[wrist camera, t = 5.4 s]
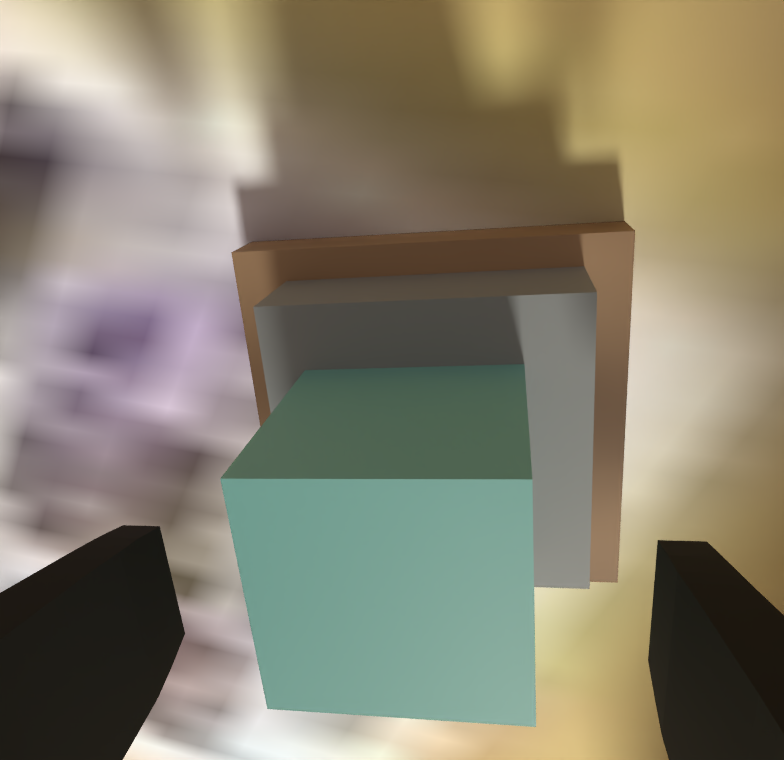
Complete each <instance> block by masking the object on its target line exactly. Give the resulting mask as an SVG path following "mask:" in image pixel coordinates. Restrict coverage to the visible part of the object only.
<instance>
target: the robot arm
mask: <svg viewBox="0 0 784 760" xmlns="http://www.w3.org/2000/svg"><path fill="white" fill-rule="evenodd" d="M184 635H185V632H184V627H183V623H182V619H181V615H180V610H179V606H178V602H177V598H176V594H175V589H174V585H173V581H172V577H171V572H170V568H169V564H168V560H167V556H166V551H165V547H164V543H163V539H162V534H161V530H160V526H126V525H123V526H121V527H119V528H117V529H114V530H112V531H110V532H108V533H106V534H104V535H102V536H100V537H98V538H96V539H94V540H93V541H91V542H89V543H87V544H85V545H83V546H82V547H80V548H78V549H76V550H74V551H73V552H71V553H69V554H67V555H66V556H64V557H62V558H60V559H58V560H57V561H55V562H53V563H52V564H50V565H48V566H46V567H45V568H43V569H41V570H39V571H38V572H36V573H34V574H32V575H31V576H29V577H27V578H25V579H24V580H22V581H20V582H18V583H17V584H15V585H13V586H11V587H10V588H8V589H6V590H5V591H3V592H1V593H0V760H123V758H124V756H125V755H126V753H127V751H128V749H129V748H130V746H131V744H132V743H133V741H134V739H135V737H136V736H137V734H138V732H139V730H140V729H141V727H142V725H143V723H144V722H145V720H146V718H147V716H148V715H149V713H150V711H151V709H152V707H153V706H154V704H155V702H156V700H157V698H158V697H159V694H160V692H161V690H162V688H163V685H164V683H165V681H166V678H167V676H168V674H169V672H170V669H171V667H172V665H173V662H174V660H175V657H176V655H177V652H178V650H179V647H180V645H181V642H182V640H183V637H184ZM648 662H649V667H650V673H651V679H652V685H653V690H654V696H655V702H656V707H657V712H658V717H659V723H660V728H661V733H662V737H663V741H664V744H665V748H666V751H667V754H668V758H669V760H784V615H783V614H782V613H781V612H780V611H778V610H777V609H776V608H775V607H774V606H773V605H772V604H771V603H770V602H769V601H768V600H767V599H766V598H765V597H764V596H763V595H762V594H761V593H760V592H758V591H757V590H756V589H755V588H754V587H753V586H752V585H751V584H750V583H749V582H748V581H747V580H746V579H745V578H744V577H743V576H742V575H741V574H740V573H739V572H738V571H737V570H736V569H735V568H734V567H733V566H732V565H731V564H730V563H728V562H727V561H726V560H725V559H724V558H723V557H722V556H721V555H720V554H719V553H718V552H717V551H716V550H715V549H714V548H713V547H712V546H711V545H710V544H709V543H708V542H701V541H665V540H658V545H657V557H656V570H655V582H654V595H653V607H652V620H651V632H650V645H649V657H648Z"/></svg>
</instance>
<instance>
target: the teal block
mask: <svg viewBox="0 0 784 760" xmlns="http://www.w3.org/2000/svg"><path fill="white" fill-rule="evenodd" d="M221 484H222V489H223V494H224V499H225V504H226V509H227V514H228V518H229V523H230V528H231V533H232V538H233V543H234V548H235V553H236V557H237V562H238V567H239V572H240V577H241V582H242V587H243V592H244V596H245V601H246V606H247V611H248V616H249V621H250V626H251V631H252V635H253V640H254V645H255V650H256V655H257V660H258V665H259V670H260V674H261V679H262V684H263V689H264V694H265V699H266V704H267V709H277V710H292V711H307V712H322V713H336V714H351V715H366V716H381V717H396V718H411V719H426V720H441V721H456V722H471V723H486V724H500V725H515V726H530V727H536V693H535V623H534V553H533V482H532V466H531V451H530V437H529V423H528V408H527V394H526V379H525V365H524V364H511V365H475V366H439V367H403V368H367V369H331V370H305V371H304V372H303V373H302V375H301V376H300V377H299V378H298V380H297V381H296V382H295V384H294V385H293V386H292V387H291V389H290V390H289V391H288V393H287V394H286V395H285V396H284V398H283V399H282V400H281V402H280V403H279V404H278V405H277V407H276V408H275V409H274V411H273V412H272V413H271V414H270V416H269V417H268V418H267V419H266V421H265V422H264V423H263V425H262V426H261V427H260V428H259V430H258V431H257V432H256V434H255V435H254V436H253V437H252V439H251V440H250V441H249V443H248V444H247V445H246V446H245V448H244V449H243V450H242V452H241V453H240V454H239V455H238V457H237V458H236V459H235V461H234V462H233V463H232V464H231V466H230V467H229V468H228V470H227V471H226V472H225V473H224V475H223V476H222V477H221Z"/></svg>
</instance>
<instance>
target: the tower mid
mask: <svg viewBox="0 0 784 760" xmlns="http://www.w3.org/2000/svg"><path fill="white" fill-rule="evenodd" d="M253 309H254V315H255V321H256V327H257V333H258V339H259V345H260V351H261V357H262V363H263V369H264V375H265V381H266V388H267V394H268V400H269V406H270V412H271V413H272V412H273V411H274V409H275V408H276V407H277V405H278V404H279V403H280V402H281V400H282V399H283V398H284V396H285V395H286V394H287V393H288V391H289V390H290V389H291V387H292V386H293V385H294V384H295V382H296V381H297V380H298V378H299V377H300V376H301V375H302V373H303V372H304V371H305V370H331V369H367V368H403V367H439V366H475V365H511V364H524V365H525V379H526V394H527V408H528V423H529V437H530V451H531V466H532V482H533V553H534V587H550V588H580V589H589V586H590V548H591V510H592V471H593V433H594V395H595V357H596V318H597V291H596V289H595V287H594V285H593V283H592V281H591V279H590V277H589V275H588V273H587V271H586V269H585V267H584V266H581V267H560V268H540V269H520V270H500V271H480V272H460V273H439V274H419V275H399V276H379V277H359V278H339V279H319V280H298V281H286V282H285V283H283V284H282V285H281V286H280V287H278V288H277V289H276V290H274V291H273V292H272V293H270V294H269V295H268V296H267V297H265V298H264V299H263V300H261V301H260V302H259V303H258V304H256V305H255V306H254V307H253Z"/></svg>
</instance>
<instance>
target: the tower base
mask: <svg viewBox="0 0 784 760" xmlns="http://www.w3.org/2000/svg"><path fill="white" fill-rule="evenodd" d="M634 241H635V230H633V229H632V228H631V227H630V226H629V225H628V224H627V223H626V222H625V221H618V222H600V223H582V224H564V225H546V226H529V227H511V228H493V229H475V230H457V231H439V232H421V233H403V234H385V235H367V236H349V237H331V238H313V239H295V240H278V241H260V242H251V243H249V244H247V245H245V246H243V247H241V248H239V249H237V250H235V251H233V252H232V258H233V264H234V270H235V276H236V282H237V288H238V294H239V300H240V306H241V312H242V318H243V324H244V330H245V336H246V342H247V348H248V354H249V360H250V366H251V372H252V378H253V384H254V390H255V396H256V402H257V408H258V414H259V420H260V426H262V425H263V423H264V422H265V421H266V419H267V418H268V417H269V416H270V414H271V412H270V406H269V400H268V394H267V388H266V381H265V375H264V369H263V363H262V357H261V351H260V345H259V339H258V333H257V327H256V321H255V315H254V309H253V307H254V306H255V305H256V304H258V303H259V302H260V301H261V300H263V299H264V298H265V297H267V296H268V295H269V294H270V293H272V292H273V291H274V290H276V289H277V288H278V287H280V286H281V285H282V284H283V283H285V282H286V281H298V280H319V279H339V278H359V277H379V276H399V275H419V274H439V273H460V272H480V271H500V270H520V269H540V268H560V267H581V266H584V267H585V269H586V271H587V273H588V275H589V277H590V279H591V281H592V283H593V285H594V287H595V289H596V291H597V318H596V357H595V395H594V433H593V471H592V510H591V548H590V582H617V580H618V561H619V541H620V521H621V501H622V481H623V461H624V441H625V421H626V401H627V381H628V361H629V341H630V321H631V301H632V281H633V261H634Z"/></svg>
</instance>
